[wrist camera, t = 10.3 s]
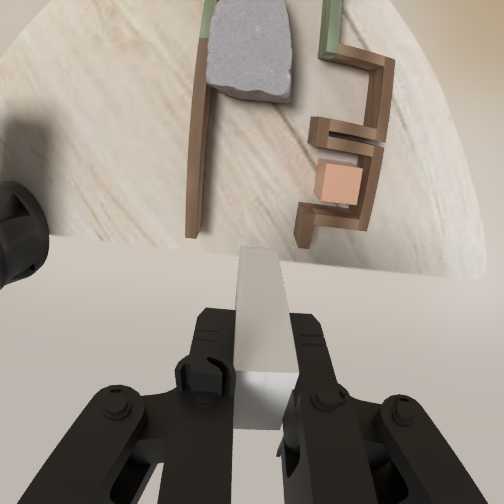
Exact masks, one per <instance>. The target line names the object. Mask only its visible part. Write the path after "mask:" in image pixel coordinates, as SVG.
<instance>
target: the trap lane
mask: <svg viewBox="0 0 504 504" xmlns="http://www.w3.org/2000/svg"><path fill="white" fill-rule="evenodd" d="M218 1H219V0H205V3H204V9H203V16H202V22H201V29H200V36H199V44H198V51H197V60H196V68H195V77H194V87H193V97H192V108H191V120H190V133H189V149H188V166H187V188H186V223H185V238H194V239H196V238H197V236H198V233H199V231H200V228H201V226H202V209H203V190H204V173H205V158H206V144H207V132H208V120H209V109H210V98H211V89H212V87H211V86H210V85H208V84H207V82H206V68H207V56H208V42H209V34H210V23H211V18H212V16H213V14H214V9H215V6H216V5H217V3H218ZM341 15H342V0H323V7H322V19H321V30H320V41H319V51H318V58H319V59H324V60H329V61H333V62H338V63H342V64H346V65H350V66H354V67H358V68H362V69H365V70H369V71H370V75H369V85H368V94H367V102H366V110H365V117H364V124H363V126H362V125H357V124H353V123H348V122H344V121H339V120H334V119H328V118H323V117H311V120H310V128H309V136H308V143H309V144H312V145H314V146H317V147H323V148H329V149H335V150H340V151H346V152H351V153H356V154H359V156H358V162H357V166H359V167H361V168H363V171H362V177H361V183H360V189H359V195H358V200H357V205H351V204H349V209H348V208H341V207H334V206H326V205H319V204H311V203H303V202H299V204H298V210H297V216H296V222H295V229H294V236H295V239H296V242H297V245H298V248H304V249H309V247H310V242H311V237H312V232H313V226H314V225H318V226H327V227H335V228H343V229H352V230H360V231H367V228H368V224H369V220H370V216H371V212H372V207H373V203H374V198H375V194H376V189H377V184H378V179H379V174H380V169H381V164H382V158H383V152H384V148H382V147H379V146H376V145H372V144H368V143H364V142H359V141H355V140H350V139H345V138H339V137H334V136H329V131H334V132H339V133H344V134H349V135H354V136H359V137H363V138H368V139H372V140H376V141H381V142H385V141H386V134H387V128H388V121H389V114H390V106H391V98H392V89H393V79H394V68H395V60H394V59H392V58H389V57H386V56H382V55H379V54H376V53H373V52H369V51H366V50H363V49H359V48H355V47H351V46H348V45H344V44H339V41H340V29H341Z"/></svg>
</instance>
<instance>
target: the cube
mask: <svg viewBox="0 0 504 504" xmlns="http://www.w3.org/2000/svg"><path fill="white" fill-rule="evenodd" d="M362 171H363V168H361V167H359V166H357V165H355V164H353V163H351V162H344V161H338V160H331V159H323V158H318V163H317V170H316V178H315V185H314V193H315V194H316V195H317V197H318V198H319V199H320V200H321V201H325V202H334V203H343V204H351V205H357V200H358V195H359V189H360V183H361V177H362Z"/></svg>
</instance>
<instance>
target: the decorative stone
mask: <svg viewBox="0 0 504 504" xmlns="http://www.w3.org/2000/svg"><path fill="white" fill-rule="evenodd" d="M291 45H292V38H291V30H290V23H289V15H288V13H287V10H286V4H285V0H219V1H218V3H217V5H216V6H215V9H214V14H213V16H212V18H211V23H210V34H209V42H208V56H207V68H206V82H207V84H208V85H210V86H211V87H214V88H215V89H218V91H219V93H222V94H226V95H228V96H232V97H236V98H240V99H249V100H257V101H271V102H276V103H286V104H289V103H290V102H291V91H292V72H293V71H292V46H291Z"/></svg>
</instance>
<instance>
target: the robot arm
mask: <svg viewBox="0 0 504 504" xmlns="http://www.w3.org/2000/svg"><path fill="white" fill-rule="evenodd" d="M48 251H49V233H48V227H47V223H46V220H45V217H44V214H43V212H42V210H41V208H40V206H39V204H38V202H37V201H36V199H35V198H34V197H33V195H32V194H31V193H30V192H29V191H28V190H27V189H26V188H25V187H23V186H22V185H20V184H18V183H15V182H4V183H2V184H0V289H1V288H3V287H4V285H7V284H9V283H12V282H15V281H18V280H21V279H24V278H27V277H29V276H31V275H32V274H34V273H35V272H36V271H37V270H38V269H39V268H40V267H41V266H42V265H43V264H44V262H45V260H46V258H47V255H48ZM323 336H324V335H323V331H322V328H321V324H320V323H319V322H318V321H317V320H316V318H315V317H314V316H313V315H312V314H301V313H289V311H288V305H287V300H286V294H285V289H284V283H283V278H282V273H281V268H280V263H279V257H278V252H277V249H269V248H257V247H246V246H240V257H239V268H238V280H237V291H236V302H235V310H227V309H215V308H205V309H204V310H203V311H202V313H201V314H200V315H199V316H198V317H197V321H196V326H195V330H194V336H193V340H192V344H191V349H190V354H189V355H188V356H186V357H185V358H183V359H182V360H181V361H179V362H178V364H177V366H176V368H175V378H176V385H177V387H176V388H174V389H173V390H171V391H168V392H166V393H161V394H155V395H145V396H140V394H139V393H138V392H137V391H135V390H134V389H132V388H131V387H128V386H124V385H110V386H108V387H105V388H103V389H101V390H100V391H99V392H98V393H96V394H95V395H94V397H93V398H92V399H91V400H90V402H89V403H88V404H87V406H86V407H85V408H84V410H83V411H82V412H81V414H80V415H79V416H78V418H77V419H76V420H75V422H74V423H73V425H72V426H71V427H70V429H69V430H68V431H67V433H66V434H65V435H64V437H63V438H62V439H61V441H60V443H59V444H58V445H57V447H56V448H55V449H54V451H53V452H52V453H51V455H50V456H49V458H48V459H47V460H46V462H45V463H44V465H43V466H42V468H41V469H40V470H39V472H38V473H37V475H36V476H35V478H34V479H33V481H32V482H31V483H30V485H29V486H28V488H27V489H26V491H25V492H24V494H23V495H22V497H21V498H20V500H19V501H18V503H17V504H137V503H138V501H139V499H140V497H141V495H142V493H143V491H144V489H145V487H146V485H147V483H148V482H149V479H150V478H151V476H152V474H153V472H154V470H155V468H156V466H157V464H158V463H164V466H163V471H162V478H161V484H160V490H159V496H158V503H157V504H231V481H232V446H233V445H232V444H233V428H234V429H254V430H255V429H256V430H280V428H281V425H282V422H283V432H284V436H283V438H282V441H281V443H280V445H279V448H278V450H277V455H276V456H277V457H280V456H281V458H282V472H283V487H284V501H285V504H488V503H487V501H486V500H485V498H484V497H483V495H482V493H481V492H480V490H479V489H478V487H477V486H476V484H475V483H474V481H473V480H472V478H471V476H470V475H469V473H468V472H467V470H465V467H464V466H463V465H462V463H461V462H460V460H459V459H458V457H457V456H456V454H455V453H454V451H453V450H452V448H451V447H450V445H449V444H448V443H447V441H446V440H445V438H444V437H443V435H442V434H441V433H440V431H439V430H438V428H437V427H436V426H435V424H434V423H433V421H432V420H431V419H430V417H429V416H428V414H427V413H426V412H425V410H424V409H423V408H422V406H421V405H420V404H419V403H418V402H417V401H416V400H415V399H413V398H411V397H409V396H406V395H400V394H398V395H393V396H390V397H389V398H387V399H385V400H384V402H383V403H382V404H376V403H371V402H366V401H361V400H358V399H355V398H353V397H351V396H350V395H349V393H348V391H347V390H346V389H345V388H344V387H343V386H341V385H340V384H338V382H337V380H336V377H335V373H334V369H333V366H332V362H331V359H330V355H329V352H328V348H327V346H326V341H325V338H324V337H323Z"/></svg>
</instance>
